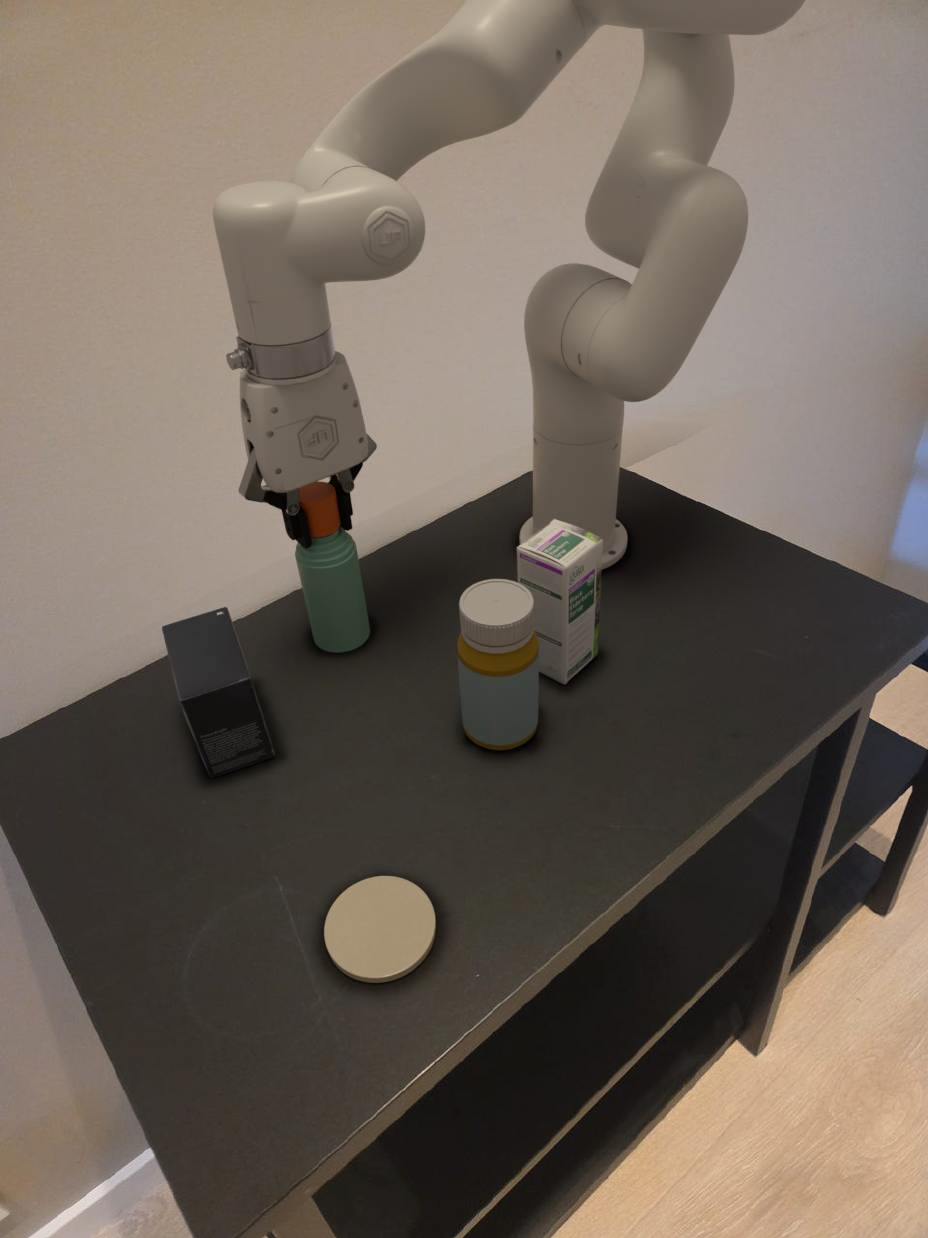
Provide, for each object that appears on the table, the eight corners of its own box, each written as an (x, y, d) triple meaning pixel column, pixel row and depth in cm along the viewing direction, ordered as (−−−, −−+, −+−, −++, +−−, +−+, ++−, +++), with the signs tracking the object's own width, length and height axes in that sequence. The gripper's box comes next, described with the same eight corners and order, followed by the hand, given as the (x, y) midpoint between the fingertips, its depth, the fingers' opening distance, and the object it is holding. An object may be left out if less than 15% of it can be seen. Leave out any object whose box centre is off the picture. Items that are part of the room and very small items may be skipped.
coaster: (346, 873, 70) (344, 867, 69) (447, 890, 68) (447, 885, 67) (309, 971, 63) (307, 966, 63) (420, 993, 62) (419, 988, 61)
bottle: (532, 759, 78) (532, 633, 68) (455, 749, 79) (445, 624, 69) (542, 703, 83) (544, 579, 73) (470, 695, 84) (463, 572, 74)
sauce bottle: (324, 612, 95) (296, 478, 84) (377, 618, 94) (356, 482, 83) (305, 649, 90) (273, 512, 79) (360, 655, 89) (335, 517, 78)
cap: (296, 537, 82) (289, 503, 79) (304, 514, 85) (297, 481, 82) (337, 537, 81) (331, 503, 79) (343, 514, 84) (338, 480, 82)
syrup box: (565, 687, 84) (569, 567, 75) (517, 661, 87) (515, 543, 78) (598, 655, 88) (606, 537, 78) (551, 631, 91) (553, 515, 81)
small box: (187, 704, 85) (157, 623, 78) (252, 684, 87) (228, 603, 80) (206, 781, 77) (175, 699, 71) (278, 757, 79) (254, 675, 72)
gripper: (214, 395, 66) (261, 585, 78) (397, 335, 73) (415, 517, 85) (175, 364, 70) (225, 548, 82) (351, 310, 78) (373, 487, 90)
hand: (321, 531), depth 83 cm, fingers closed on cap, 3 cm apart
